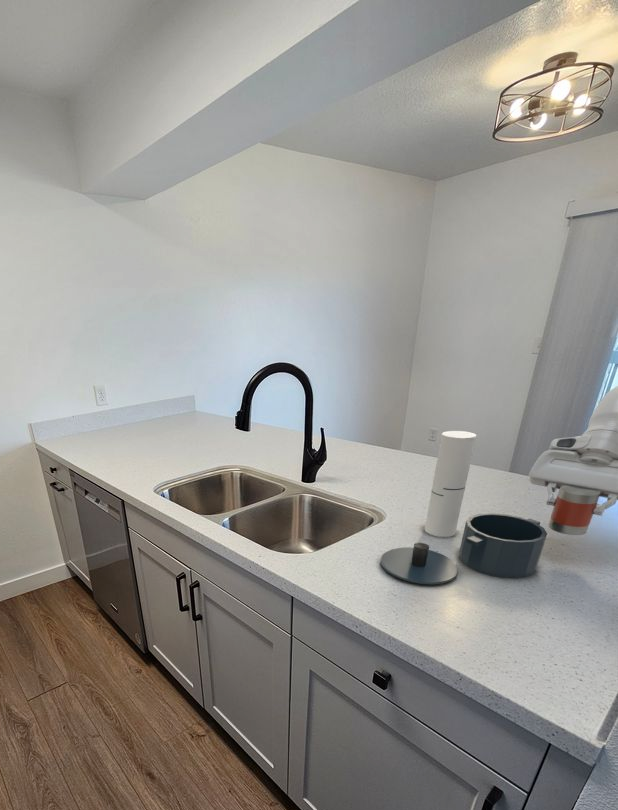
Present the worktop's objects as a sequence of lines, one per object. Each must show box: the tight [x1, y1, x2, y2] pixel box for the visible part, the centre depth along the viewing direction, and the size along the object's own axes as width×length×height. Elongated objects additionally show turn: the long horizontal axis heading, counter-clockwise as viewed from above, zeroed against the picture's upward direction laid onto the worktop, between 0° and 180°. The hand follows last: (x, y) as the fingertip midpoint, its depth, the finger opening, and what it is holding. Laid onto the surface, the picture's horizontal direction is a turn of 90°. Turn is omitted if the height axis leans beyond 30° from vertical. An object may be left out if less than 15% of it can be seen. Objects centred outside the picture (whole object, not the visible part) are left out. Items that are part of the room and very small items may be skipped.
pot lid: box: [380, 542, 459, 585], centre depth 95 cm, size 16×16×6 cm
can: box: [547, 485, 601, 536], centre depth 92 cm, size 7×7×9 cm
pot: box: [458, 512, 548, 579], centre depth 96 cm, size 15×20×8 cm
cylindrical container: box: [424, 430, 477, 538], centre depth 107 cm, size 7×7×25 cm
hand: (572, 508), depth 92 cm, fingers closed on can, 7 cm apart
